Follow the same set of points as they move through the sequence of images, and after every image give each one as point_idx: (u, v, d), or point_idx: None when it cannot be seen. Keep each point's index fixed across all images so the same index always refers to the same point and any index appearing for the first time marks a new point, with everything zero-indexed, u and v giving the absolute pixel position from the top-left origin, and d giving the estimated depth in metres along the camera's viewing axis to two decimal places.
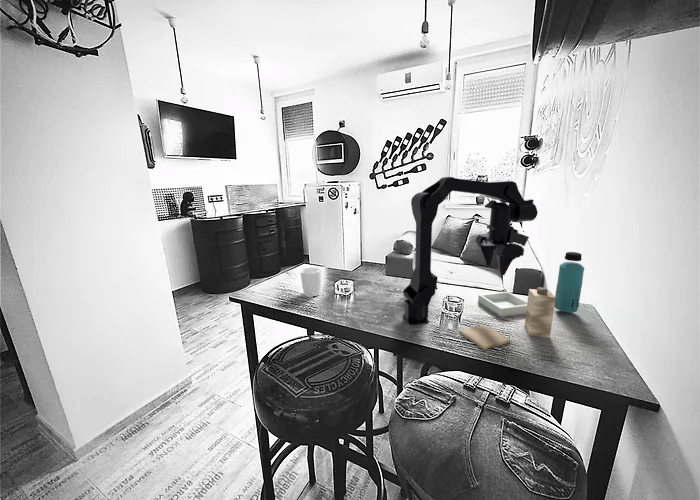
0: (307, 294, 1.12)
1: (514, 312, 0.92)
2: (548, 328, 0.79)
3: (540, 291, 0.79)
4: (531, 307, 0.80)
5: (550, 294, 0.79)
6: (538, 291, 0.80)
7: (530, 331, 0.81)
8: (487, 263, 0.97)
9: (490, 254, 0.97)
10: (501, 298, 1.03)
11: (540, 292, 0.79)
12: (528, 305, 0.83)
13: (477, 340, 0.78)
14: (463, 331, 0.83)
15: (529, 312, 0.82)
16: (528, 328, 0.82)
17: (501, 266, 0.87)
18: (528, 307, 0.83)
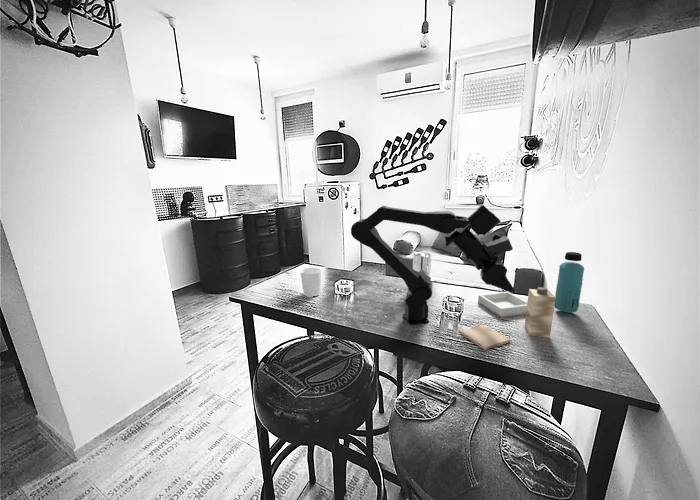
0: (307, 294, 1.12)
1: (514, 312, 0.92)
2: (548, 328, 0.79)
3: (540, 291, 0.79)
4: (531, 307, 0.80)
5: (550, 294, 0.79)
6: (538, 291, 0.80)
7: (530, 331, 0.81)
8: None
9: None
10: (501, 298, 1.03)
11: (540, 292, 0.79)
12: (528, 305, 0.83)
13: (477, 340, 0.78)
14: (463, 331, 0.83)
15: (529, 312, 0.82)
16: (528, 328, 0.82)
17: (502, 287, 0.77)
18: (528, 307, 0.83)
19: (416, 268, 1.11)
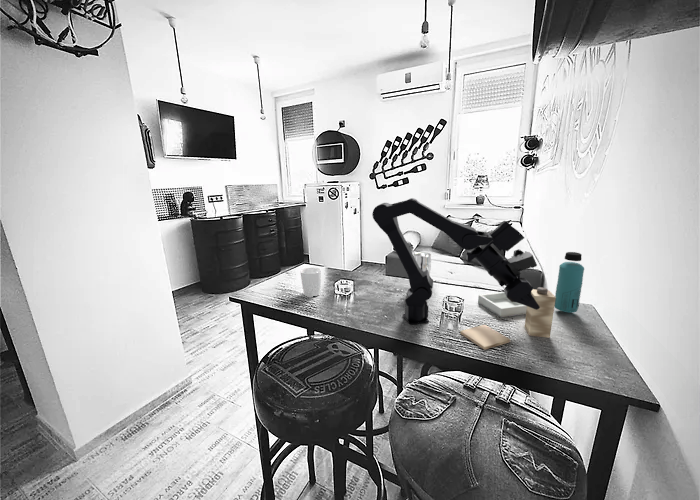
0: (307, 294, 1.12)
1: (514, 312, 0.92)
2: (548, 328, 0.79)
3: (540, 291, 0.79)
4: None
5: (550, 294, 0.79)
6: (538, 291, 0.80)
7: (530, 331, 0.81)
8: None
9: None
10: (501, 298, 1.03)
11: (540, 292, 0.79)
12: None
13: (477, 340, 0.78)
14: (463, 331, 0.83)
15: (529, 312, 0.82)
16: (528, 328, 0.82)
17: (526, 304, 0.76)
18: (528, 307, 0.83)
19: None
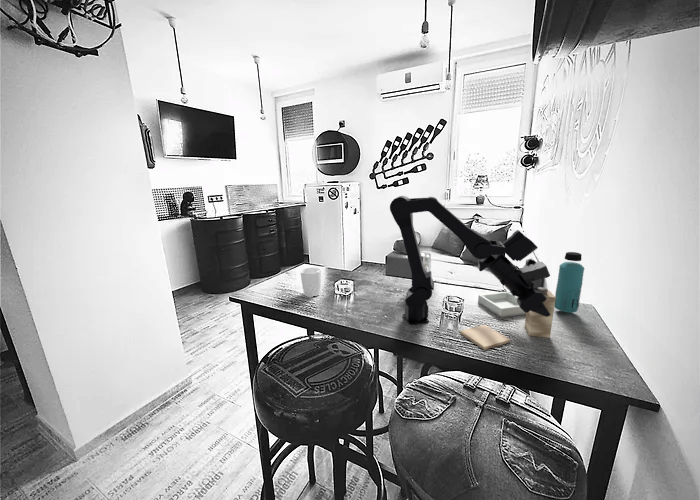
0: (307, 294, 1.12)
1: (514, 312, 0.92)
2: (548, 328, 0.79)
3: None
4: None
5: (550, 294, 0.79)
6: None
7: (530, 331, 0.81)
8: None
9: None
10: (501, 298, 1.03)
11: None
12: None
13: (477, 340, 0.78)
14: (463, 331, 0.83)
15: (529, 312, 0.82)
16: (528, 328, 0.82)
17: (537, 311, 0.78)
18: None
19: None
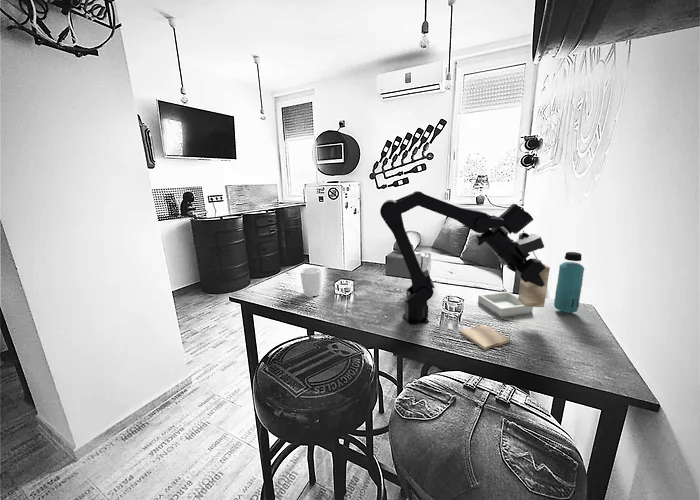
0: (307, 294, 1.12)
1: (514, 312, 0.92)
2: (542, 298, 0.82)
3: None
4: None
5: (544, 265, 0.82)
6: None
7: (526, 302, 0.83)
8: None
9: None
10: (501, 298, 1.03)
11: None
12: None
13: (477, 340, 0.78)
14: (463, 331, 0.83)
15: (524, 284, 0.84)
16: (523, 299, 0.85)
17: (533, 282, 0.80)
18: None
19: None
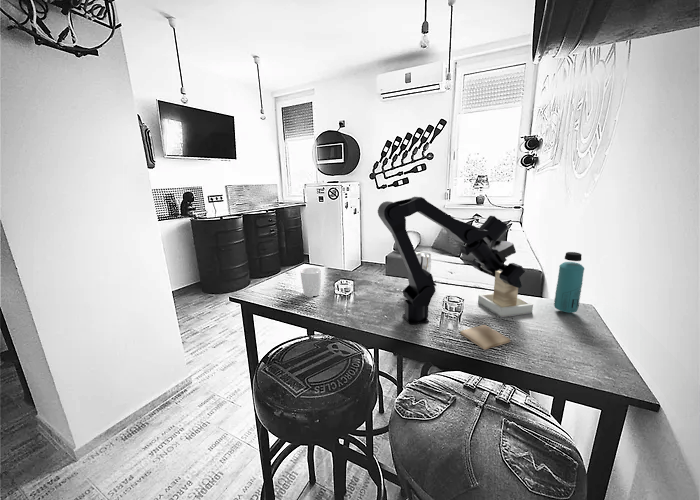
0: (307, 294, 1.12)
1: (514, 312, 0.92)
2: (515, 300, 0.95)
3: None
4: (502, 286, 0.94)
5: None
6: None
7: (503, 306, 0.95)
8: None
9: None
10: None
11: None
12: (496, 285, 0.97)
13: (477, 340, 0.78)
14: (463, 331, 0.83)
15: (499, 290, 0.96)
16: (500, 304, 0.96)
17: (514, 285, 0.90)
18: (497, 286, 0.97)
19: None
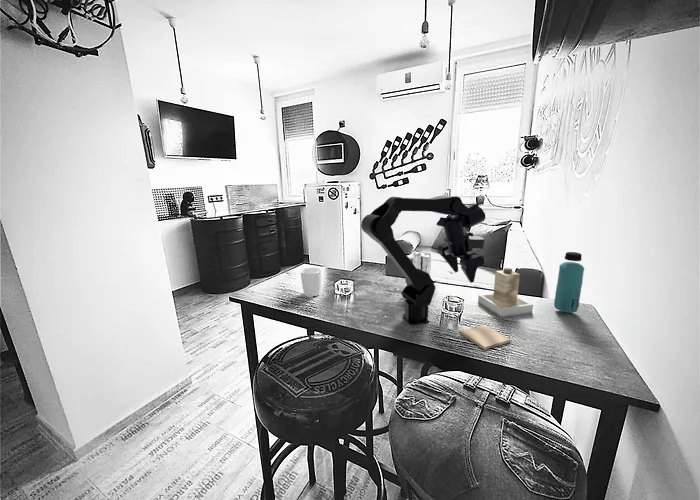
0: (307, 294, 1.12)
1: (514, 312, 0.92)
2: (515, 300, 0.95)
3: (507, 271, 0.94)
4: (502, 286, 0.94)
5: (513, 272, 0.95)
6: (506, 271, 0.94)
7: (503, 306, 0.95)
8: (455, 270, 1.00)
9: (454, 260, 0.99)
10: None
11: (507, 272, 0.94)
12: (496, 285, 0.97)
13: (477, 340, 0.78)
14: (463, 331, 0.83)
15: (499, 290, 0.96)
16: (500, 304, 0.96)
17: (468, 276, 0.90)
18: (497, 286, 0.97)
19: (416, 268, 1.11)
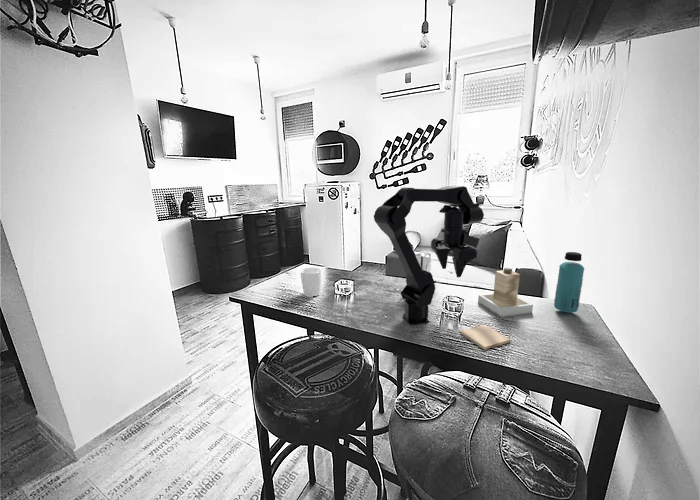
0: (307, 294, 1.12)
1: (514, 312, 0.92)
2: (515, 300, 0.95)
3: (507, 271, 0.94)
4: (502, 286, 0.94)
5: (513, 272, 0.95)
6: (506, 271, 0.94)
7: (503, 306, 0.95)
8: (443, 266, 1.00)
9: (445, 256, 0.99)
10: None
11: (507, 272, 0.94)
12: (496, 285, 0.97)
13: (477, 340, 0.78)
14: (463, 331, 0.83)
15: (499, 290, 0.96)
16: (500, 304, 0.96)
17: (457, 269, 0.89)
18: (497, 286, 0.97)
19: None
